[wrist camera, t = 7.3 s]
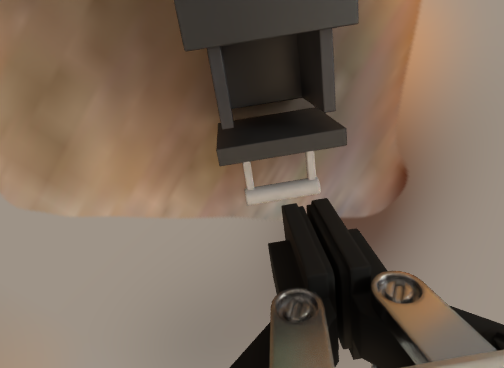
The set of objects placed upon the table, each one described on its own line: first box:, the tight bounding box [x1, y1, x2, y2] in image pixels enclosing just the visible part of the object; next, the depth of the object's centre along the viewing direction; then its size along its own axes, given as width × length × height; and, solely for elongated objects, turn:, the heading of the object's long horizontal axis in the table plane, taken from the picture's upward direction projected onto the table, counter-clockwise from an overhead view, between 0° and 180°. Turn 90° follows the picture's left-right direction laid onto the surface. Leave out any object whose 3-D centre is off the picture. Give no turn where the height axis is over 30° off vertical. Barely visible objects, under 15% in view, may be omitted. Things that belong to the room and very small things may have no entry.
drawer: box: [207, 28, 347, 206], centre depth 24 cm, size 17×9×8 cm, turn 8°
